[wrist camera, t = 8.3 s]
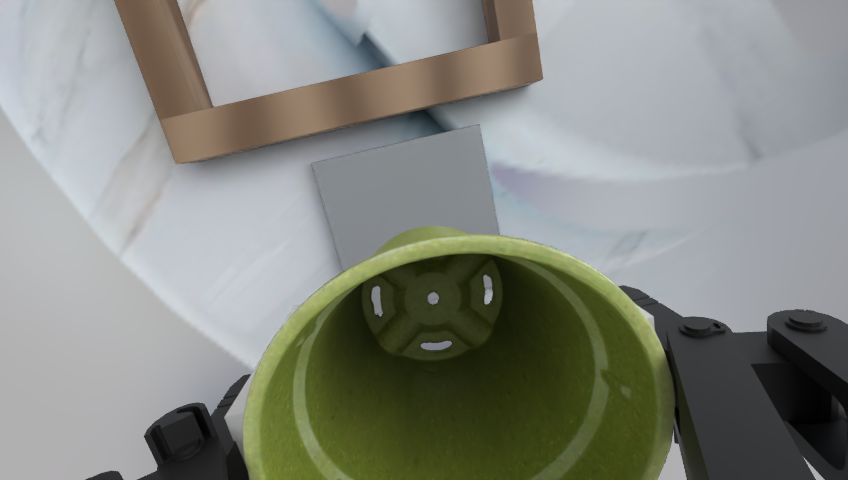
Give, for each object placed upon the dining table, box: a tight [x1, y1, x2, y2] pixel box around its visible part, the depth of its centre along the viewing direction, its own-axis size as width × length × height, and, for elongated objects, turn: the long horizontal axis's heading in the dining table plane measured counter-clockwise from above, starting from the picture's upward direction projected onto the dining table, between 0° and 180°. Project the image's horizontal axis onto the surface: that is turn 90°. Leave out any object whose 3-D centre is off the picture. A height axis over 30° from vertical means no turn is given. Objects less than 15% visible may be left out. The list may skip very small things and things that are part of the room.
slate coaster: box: [311, 124, 500, 314], centre depth 32 cm, size 13×13×1 cm
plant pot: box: [242, 226, 675, 480], centre depth 13 cm, size 9×9×9 cm
